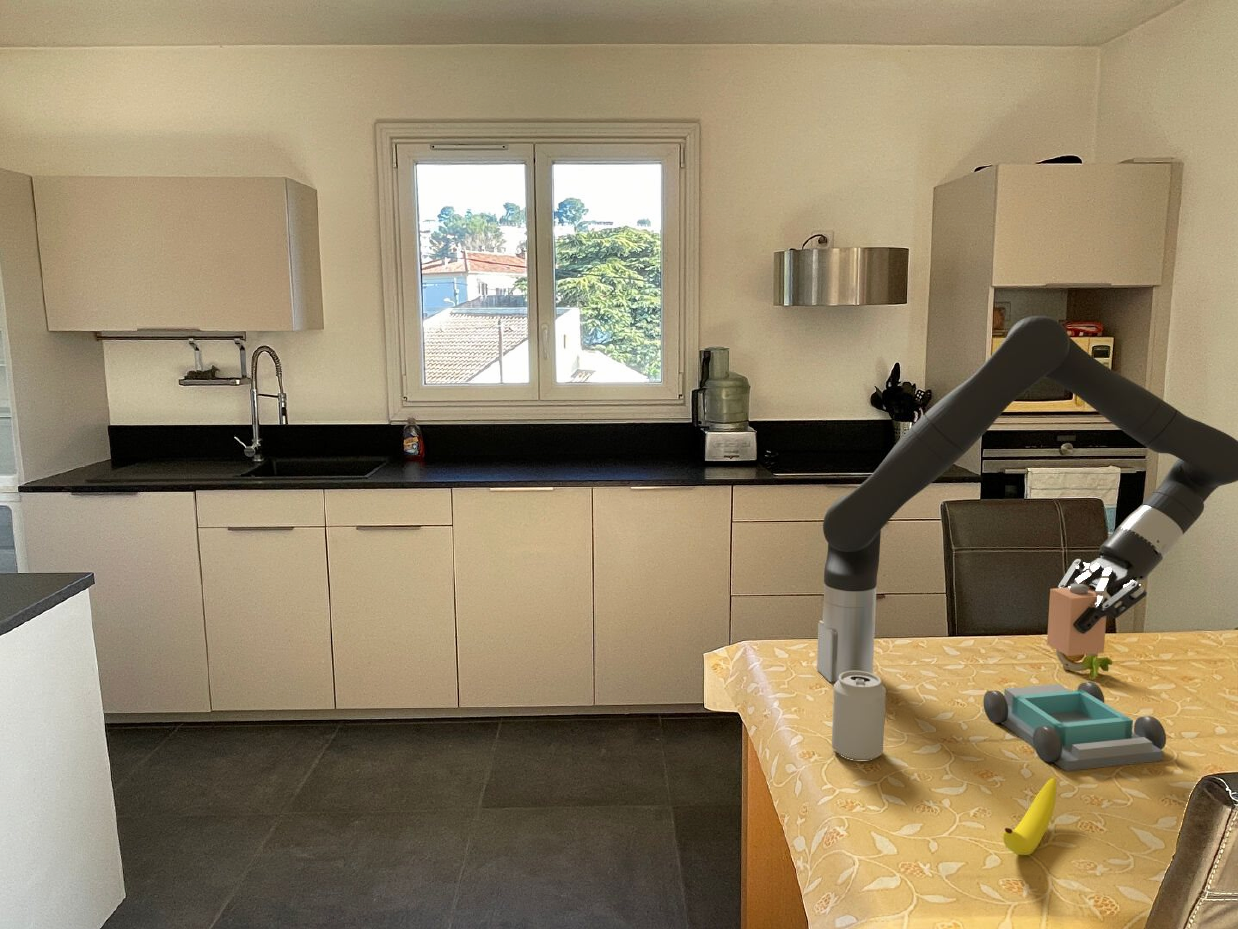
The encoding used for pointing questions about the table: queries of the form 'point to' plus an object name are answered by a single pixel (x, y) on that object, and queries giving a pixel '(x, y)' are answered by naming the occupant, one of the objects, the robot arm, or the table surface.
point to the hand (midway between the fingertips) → (1065, 623)
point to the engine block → (1063, 615)
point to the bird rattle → (1084, 663)
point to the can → (858, 715)
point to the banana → (1032, 822)
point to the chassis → (1075, 726)
